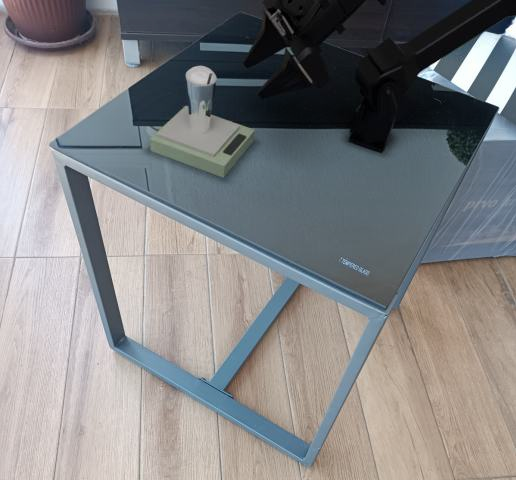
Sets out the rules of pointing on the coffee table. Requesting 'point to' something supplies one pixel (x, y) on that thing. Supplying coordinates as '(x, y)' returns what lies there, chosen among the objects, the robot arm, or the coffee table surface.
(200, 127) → the milkshake
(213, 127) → the scale
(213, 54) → the coffee table surface
